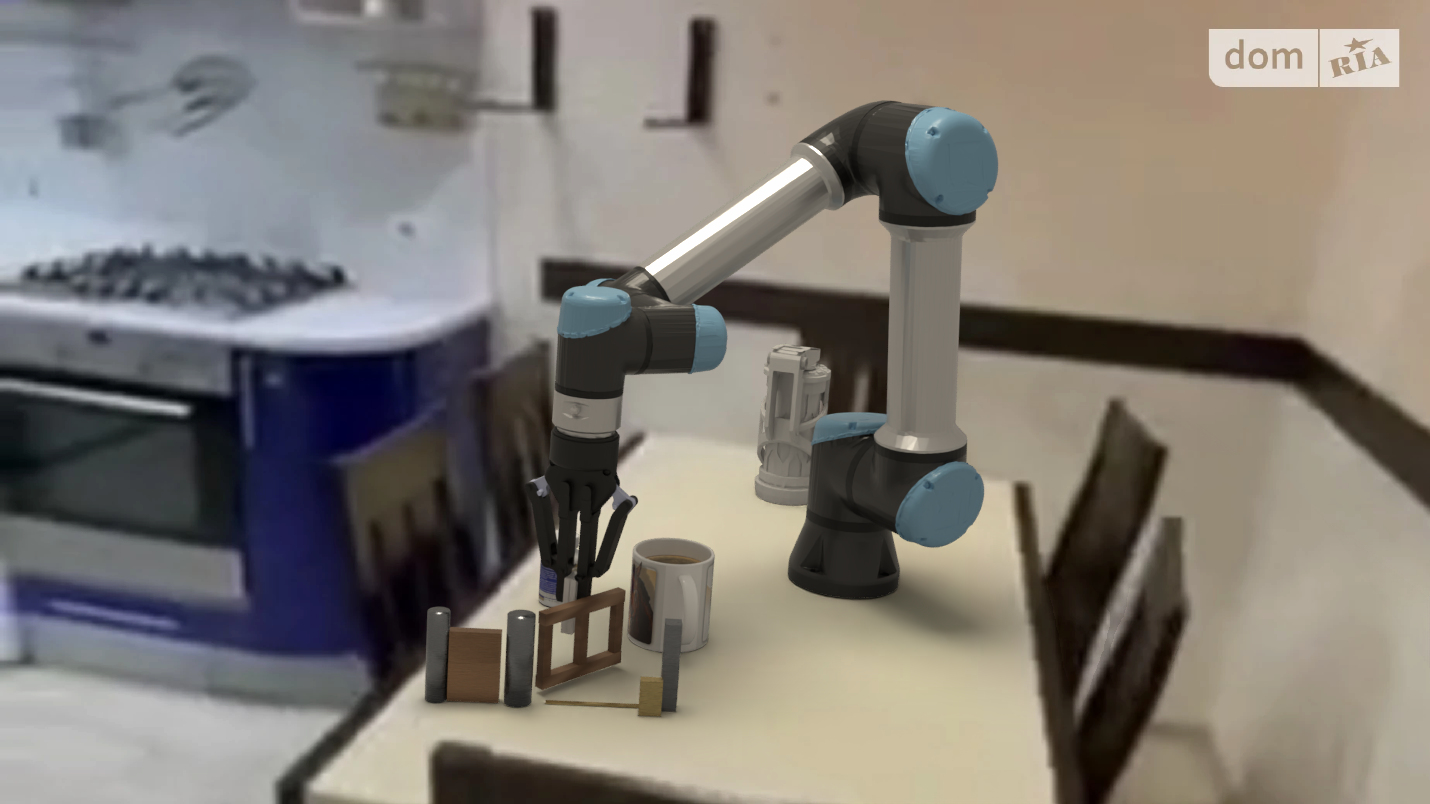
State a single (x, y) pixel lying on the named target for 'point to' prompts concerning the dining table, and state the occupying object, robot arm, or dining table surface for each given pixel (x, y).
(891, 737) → the dining table surface
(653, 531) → the dining table surface
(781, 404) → the lantern
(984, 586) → the dining table surface
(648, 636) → the mug
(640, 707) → the block
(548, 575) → the pill bottle
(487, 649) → the fence
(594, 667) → the gate
